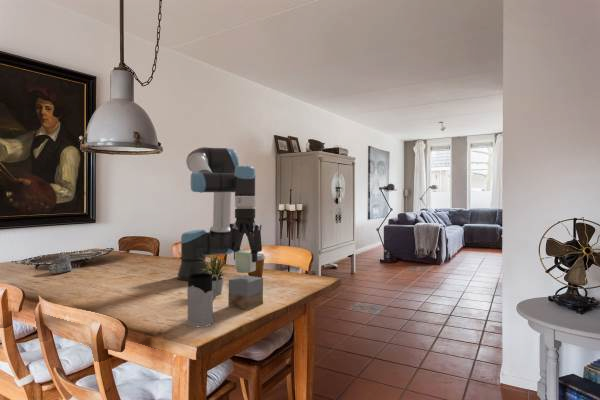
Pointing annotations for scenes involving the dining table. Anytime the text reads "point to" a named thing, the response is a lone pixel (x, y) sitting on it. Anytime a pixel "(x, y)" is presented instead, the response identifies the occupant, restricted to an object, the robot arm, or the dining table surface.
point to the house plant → (215, 271)
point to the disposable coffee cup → (258, 266)
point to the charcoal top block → (245, 285)
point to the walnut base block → (245, 301)
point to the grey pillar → (200, 299)
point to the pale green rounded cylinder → (243, 261)
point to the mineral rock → (60, 264)
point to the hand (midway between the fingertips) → (245, 269)
